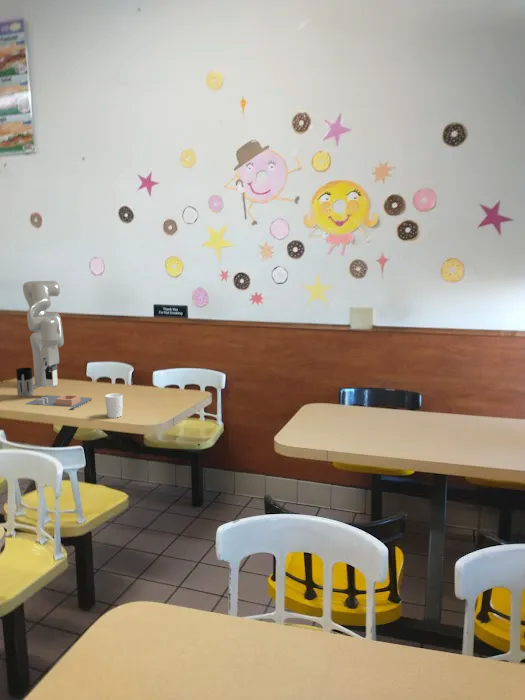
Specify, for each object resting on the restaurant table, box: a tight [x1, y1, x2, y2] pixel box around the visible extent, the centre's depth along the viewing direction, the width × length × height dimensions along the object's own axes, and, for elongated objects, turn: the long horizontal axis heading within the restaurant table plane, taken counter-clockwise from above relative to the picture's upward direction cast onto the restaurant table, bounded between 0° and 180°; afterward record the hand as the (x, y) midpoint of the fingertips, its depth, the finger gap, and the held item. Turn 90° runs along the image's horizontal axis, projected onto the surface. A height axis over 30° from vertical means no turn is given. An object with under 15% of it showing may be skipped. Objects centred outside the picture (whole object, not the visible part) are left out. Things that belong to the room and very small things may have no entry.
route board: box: [25, 394, 92, 411], centre depth 274 cm, size 18×26×4 cm
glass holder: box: [15, 367, 35, 397], centre depth 284 cm, size 9×14×15 cm, turn 18°
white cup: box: [104, 392, 124, 419], centre depth 254 cm, size 8×8×10 cm
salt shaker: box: [46, 365, 59, 387], centre depth 280 cm, size 4×4×10 cm
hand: (51, 377), depth 281 cm, fingers closed on salt shaker, 4 cm apart
